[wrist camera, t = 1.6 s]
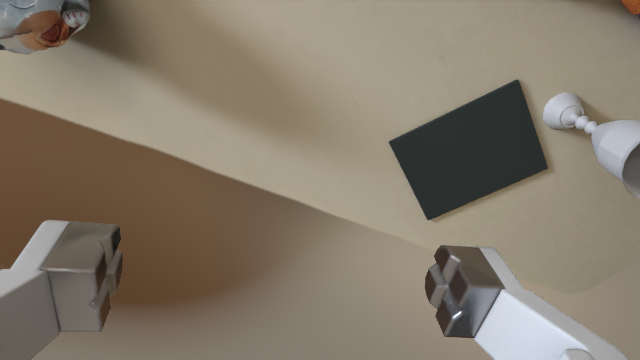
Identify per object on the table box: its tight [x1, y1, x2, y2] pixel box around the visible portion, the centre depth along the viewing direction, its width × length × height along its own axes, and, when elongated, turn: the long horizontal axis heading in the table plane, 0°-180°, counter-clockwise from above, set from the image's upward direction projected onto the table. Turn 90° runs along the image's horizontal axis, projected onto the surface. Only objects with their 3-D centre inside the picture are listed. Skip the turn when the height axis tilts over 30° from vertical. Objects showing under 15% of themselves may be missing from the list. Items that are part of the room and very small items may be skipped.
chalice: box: [543, 92, 640, 199], centre depth 48 cm, size 7×7×18 cm
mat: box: [389, 80, 548, 220], centre depth 59 cm, size 18×14×1 cm
